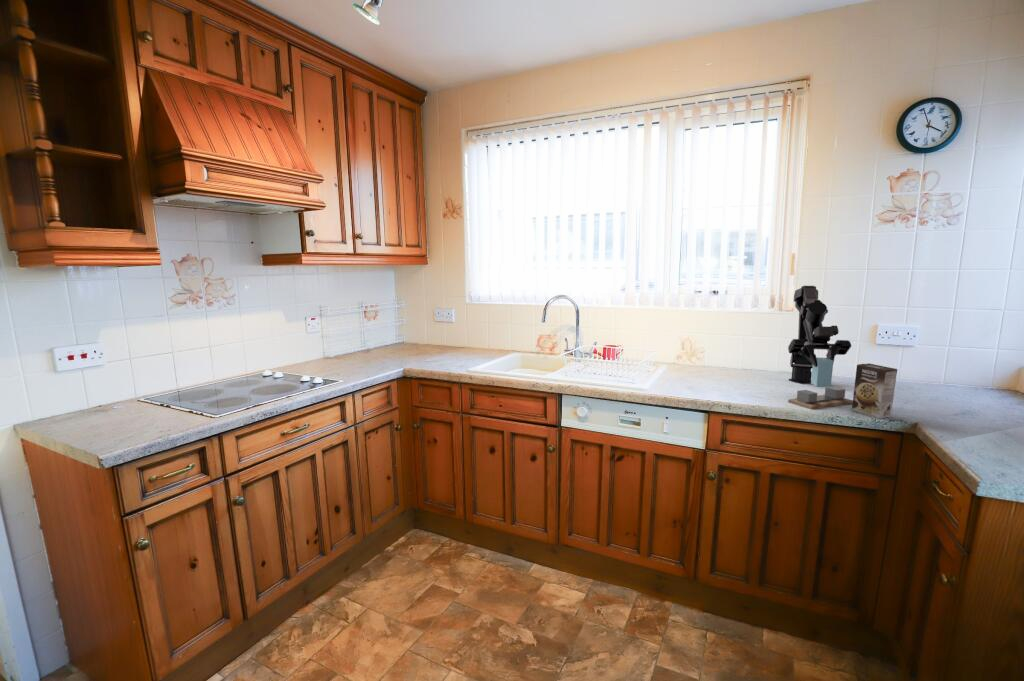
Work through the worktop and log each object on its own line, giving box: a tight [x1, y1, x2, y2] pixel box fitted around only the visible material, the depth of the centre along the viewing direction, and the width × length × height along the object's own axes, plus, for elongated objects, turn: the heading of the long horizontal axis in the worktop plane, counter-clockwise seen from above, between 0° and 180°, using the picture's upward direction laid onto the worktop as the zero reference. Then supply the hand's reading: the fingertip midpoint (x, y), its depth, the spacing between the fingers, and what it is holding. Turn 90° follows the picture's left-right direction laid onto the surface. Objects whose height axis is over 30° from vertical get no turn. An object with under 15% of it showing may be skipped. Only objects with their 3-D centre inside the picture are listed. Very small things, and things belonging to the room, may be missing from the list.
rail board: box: [787, 394, 853, 410], centre depth 172 cm, size 20×9×1 cm, turn 109°
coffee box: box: [851, 363, 898, 419], centre depth 158 cm, size 9×6×16 cm
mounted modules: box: [796, 385, 846, 402], centre depth 172 cm, size 18×4×3 cm, turn 109°
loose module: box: [810, 357, 834, 388], centre depth 171 cm, size 4×5×10 cm
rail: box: [797, 396, 845, 404], centre depth 172 cm, size 18×4×1 cm, turn 109°
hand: (824, 366), depth 169 cm, fingers closed on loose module, 4 cm apart
